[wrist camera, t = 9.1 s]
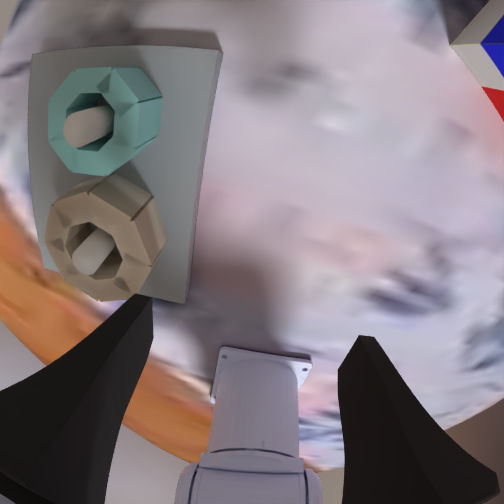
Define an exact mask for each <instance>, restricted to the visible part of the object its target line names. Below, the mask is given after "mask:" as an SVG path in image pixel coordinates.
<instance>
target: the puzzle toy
mask: <svg viewBox="0 0 504 504" xmlns="http://www.w3.org/2000/svg"><path fill="white" fill-rule="evenodd" d="M450 46H451V48H452V49H453V50H454V51H455V52H456V54H457V55H458V56H459V57H460V59H461V60H462V61H463V62H464V64H465V65H466V66H467V67H468V69H469V70H470V71H471V73H472V74H473V76H474V77H475V78H476V80H477V81H478V82H479V84H480V85H481V87H482V88H483V90H484V91H485V93H486V94H487V96H488V97H489V99H490V100H491V102H492V103H493V105H494V106H495V108H496V109H497V111H498V113H499V114H500V116H501V118H502V119H503V121H504V0H489V2H488V3H487V4H486V5H485V6H484V7H483V8H482V9H481V11H480V12H479V13H478V14H477V15H476V16H475V17H474V18H473V20H472V21H471V22H470V23H469V24H468V25H467V26H466V27H465V29H464V30H463V31H462V32H461V33H460V34H459V35H458V36H457V38H456V39H455V40H454V41H453V42H452V43H451V44H450Z"/></svg>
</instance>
